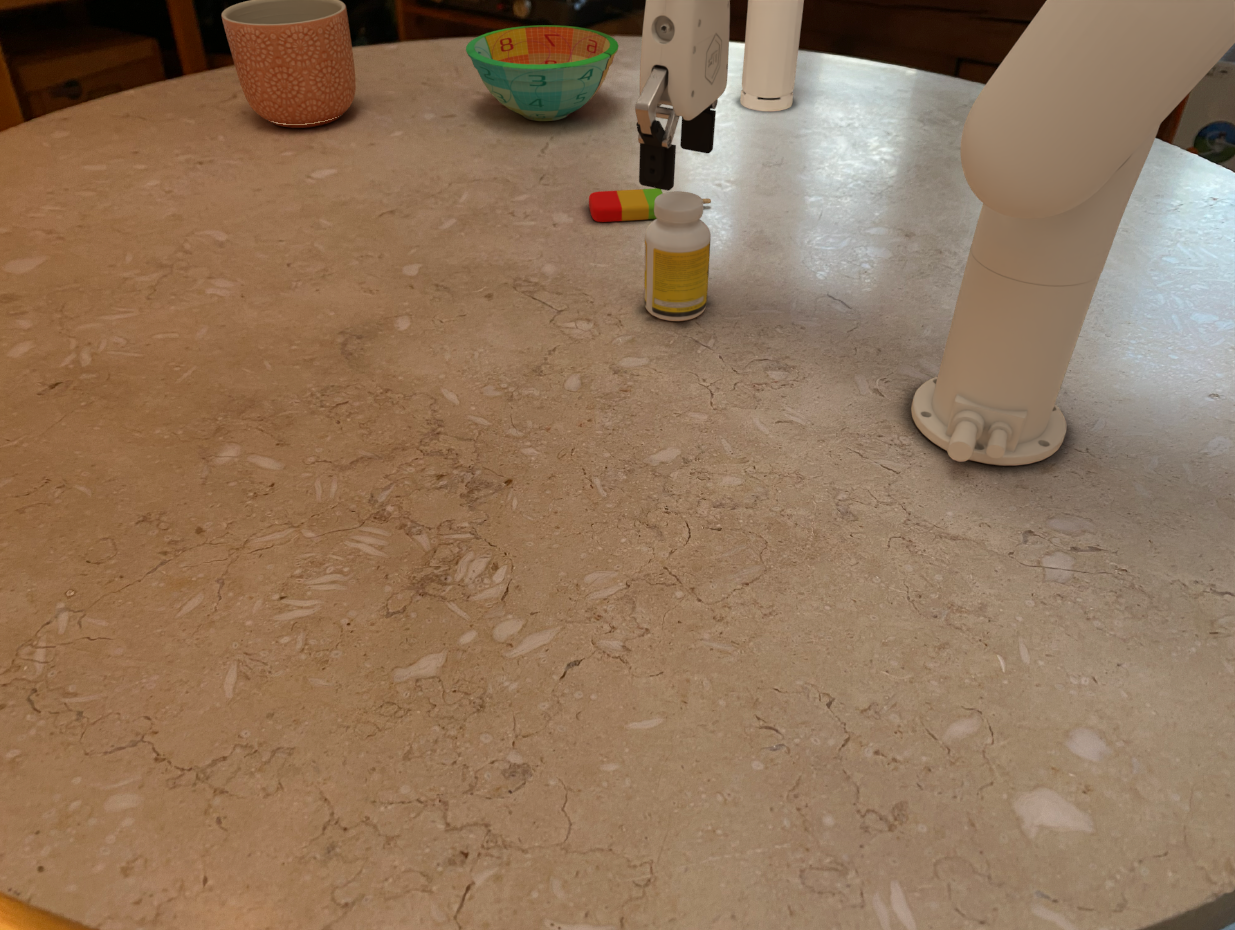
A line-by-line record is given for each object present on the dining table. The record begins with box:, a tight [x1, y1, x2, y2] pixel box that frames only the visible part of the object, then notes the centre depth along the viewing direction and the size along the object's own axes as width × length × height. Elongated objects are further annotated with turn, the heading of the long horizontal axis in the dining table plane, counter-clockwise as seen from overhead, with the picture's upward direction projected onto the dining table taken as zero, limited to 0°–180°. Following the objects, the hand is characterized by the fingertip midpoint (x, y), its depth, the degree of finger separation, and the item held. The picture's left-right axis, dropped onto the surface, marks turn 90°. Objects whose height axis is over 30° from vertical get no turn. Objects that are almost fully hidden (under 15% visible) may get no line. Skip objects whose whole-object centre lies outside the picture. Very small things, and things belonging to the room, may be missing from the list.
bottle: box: [739, 0, 805, 112], centre depth 138 cm, size 8×8×28 cm
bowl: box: [465, 24, 619, 122], centre depth 140 cm, size 22×22×10 cm
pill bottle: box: [643, 190, 712, 322], centre depth 93 cm, size 6×6×12 cm
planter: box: [221, 0, 357, 129], centre depth 138 cm, size 17×17×15 cm
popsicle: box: [588, 188, 712, 223], centre depth 115 cm, size 6×15×2 cm, turn 97°
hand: (677, 167), depth 88 cm, fingers open, 9 cm apart
